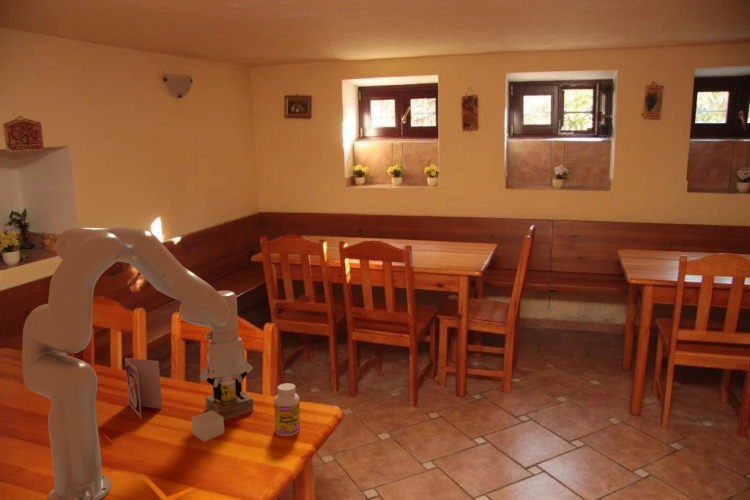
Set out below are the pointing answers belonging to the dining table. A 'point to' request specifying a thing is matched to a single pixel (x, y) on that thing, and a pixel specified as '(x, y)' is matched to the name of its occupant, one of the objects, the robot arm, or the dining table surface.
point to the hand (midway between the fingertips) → (227, 396)
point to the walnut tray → (230, 406)
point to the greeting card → (143, 384)
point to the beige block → (207, 425)
